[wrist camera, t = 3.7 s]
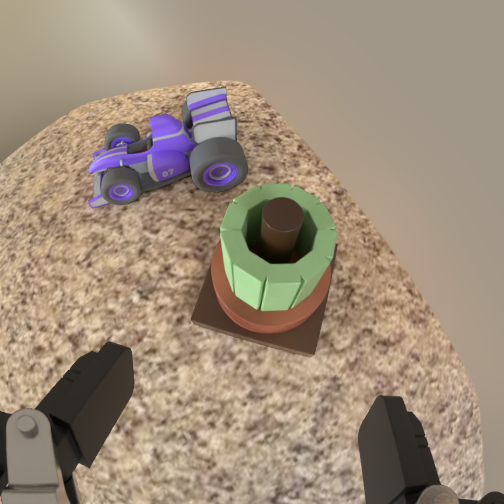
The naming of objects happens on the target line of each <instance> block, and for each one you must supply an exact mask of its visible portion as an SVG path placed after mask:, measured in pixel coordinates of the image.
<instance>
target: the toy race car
mask: <svg viewBox="0 0 504 504" xmlns="http://www.w3.org/2000/svg"><path fill="white" fill-rule="evenodd" d="M182 118H183V122H181V121H179V120H177V119H175V118H174V117H173V116H171V115H169V114H162V115H158V116H153V117H150V118H149V125H150V127H151V129H152V131H151V132H149V133H147V134H146V138H145V139H143V140H140V134H139V131H138V130H137V128H136V127H134V126H132V125H130V124H117V125H115V126H113V127H111V128H110V129H109V130H108V131H107V133H106V137H105V148H103V149H101V150H99V151H97V152H95V153H93V158H94V161H93V162H92V163H91V165H90V166H89V170H88V172H89V173H90V174H92V173H95V179H94V193H93V198H92V199H90V200H88V204H89V205H90V206H91V207H92V208H95V207H99V206H102V205H106V204H109V203H111V204H116V205H124V204H129V203H131V202H133V201H135V200H136V199H137V198H138V197H139V196H140V194H141V192H144V191H148V190H152V189H156V188H160V187H163V186H165V185H168V184H170V183H172V182H175V181H177V180H180V179H182V178H184V177H187V176H189V175H192V180H193V183H194V184H195V186H196V187H198V188H199V189H201V190H203V191H207V192H221V191H226V190H229V189H231V188H233V187H235V186H237V185H239V184H240V183H241V182H242V181H243V180H244V179H245V178H246V176H247V173H248V165H247V162H246V158H245V155H244V152H243V149H242V147H241V145H240V144H239V143H238V142H237V118H236V117H232V116H231V112H230V109H229V106H228V103H227V98H226V87H221V88H214V89H207V90H201V91H195V92H191V93H189V94H188V95H187V97H186V101H185V103H184V105H183V107H182ZM108 168H109V169H110V171H108V172H107V173H106V174H105V175H104V176H103V171H105V170H108ZM131 168H132V169H134V170H136V171H138V173H137V172H136V171H134V170H132V169H131Z"/></svg>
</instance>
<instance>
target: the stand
mask: <svg viewBox="0 0 504 504" xmlns="http://www.w3.org/2000/svg"><path fill="white" fill-rule="evenodd" d="M303 219H304V213H303V210H302V208H301V206H300V205H299V204H298V203H297V202H296V201H294V200H292V199H290V198H286V197H277V198H273V199H271V200H270V201H268V202H267V203H266V204H265V206H264V208H263V211H262V221H261V231H260V240H259V243H257V244H256V245H254V246H253V247H251V248H250V249H249V251H250V252H252V253H254V254H255V255H257V256H258V257H260V258H262V259H263V260H265V261H266V262H268V263H270V264H291V263H296V262H297V261H299V257H298V255H297V253H296V251H295V250H294V247H295V244H296V241H297V238H298V235H299V232H300V229H301V226H302V223H303ZM337 246H338V244H336V243H335V249H334V254H333V258H332V260H331V262H330V264H329V266H328V267H327V269H326V270H325V272H324V274H323V275H322V277H321V278H320V280H319V282H318V283H317V285H316V286H315V288H314V290H313V291H312V293H311V294H310V295H309V296H307V297H306V298H305V299H304V300H302V301H301V302H300V303H299V304H297V305H296V306H295V307H294V308H290V307H289V308H288V310H279V311H261V306H260V307H259V309H258V310H257V309H255V308H253V307H252V306H250V305H249V304H247V303H246V302H244V301H243V300H241V299H240V298H238V297H237V296H236V295H235V292H233V291H232V289H231V286H230V283H229V280H228V278H227V275H226V272H225V267H224V260H223V253H222V245H221V238H220V241H219V243H218V245H217V247H216V249H215V251H214V254H213V258H212V262H211V265H210V268H209V270H208V273H207V276H206V279H205V281H204V284H203V287H202V289H201V292H200V295H199V298H198V300H197V303H196V306H195V309H194V312H193V314H192V317H191V321H192V322H193V324H195V325H198V326H201V327H204V328H207V329H210V330H213V331H217V332H220V333H223V334H226V335H230V336H233V337H236V338H240V339H243V340H247V341H250V342H254V343H257V344H261V345H264V346H268V347H271V348H275V349H279V350H283V351H287V352H290V353H294V354H298V355H302V356H306V357H312V356H313V355H315V351H316V347H317V342H318V338H319V334H320V330H321V325H322V321H323V316H324V312H325V307H326V303H327V298H328V293H329V288H330V283H331V278H332V273H333V268H334V263H335V257H336V252H337Z"/></svg>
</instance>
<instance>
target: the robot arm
mask: <svg viewBox="0 0 504 504" xmlns="http://www.w3.org/2000/svg"><path fill="white" fill-rule="evenodd" d="M133 389H134V371H133V360H132V351H131V349H130V348H129V347H126V346H122V345H119V344H116V343H113V342H110V341H109V342H107V343H106V344H105V345H104V346H103V347H102V348H101V349H100V351H99V352H98V353H96V352H93V351H91V352H89V353H87V354H85V355H83V356H82V357H80V358H78V360H77V361H76V362H75V363H74V364H73V365H72V366H71V367H70V370H68V371H67V372H66V373H65V374H64V375H63V378H61V379H60V380H59V381H58V382H57V383H56V385H55V386H54V387H53V388H52V389H51V390H50V392H49V393H48V394H47V395H46V396H45V398H44V399H43V400H42V401H41V402H40V404H39V405H38V406H37V407H36V408H35V409H32V408H25V409H20V410H18V411H16V412H14V413H13V414H9V413H5V412H1V411H0V496H1V500H2V504H83V503H82V500H81V496H80V492H79V488H78V484H77V480H76V476H75V473H74V470H75V468H76V466H77V465H78V463H80V464H82V465H84V466H86V467H88V468H90V467H91V465H92V463H93V461H94V460H95V458H96V456H97V454H98V453H99V451H100V449H101V447H102V446H103V444H104V442H105V440H106V439H107V437H108V435H109V434H110V432H111V430H112V428H113V427H114V425H115V423H116V422H117V420H118V418H119V416H120V415H121V413H122V411H123V410H124V408H125V406H126V405H127V403H128V401H129V400H130V398H131V396H132V393H133ZM358 444H359V451H360V459H361V466H362V474H363V482H364V490H365V499H366V504H504V494H502V493H500V492H490V493H488V494H487V495H485V496H484V497H483V498H482V499H481V500H479V501H477V500H466V499H459V498H458V497H457V495H456V494H455V492H454V491H453V490H452V489H450V488H449V487H447V486H444V485H441V483H440V481H439V477H438V474H437V470H436V467H435V464H434V461H433V457H432V454H431V451H430V448H429V447H428V442H427V439H426V437H425V433H424V430H423V427H422V424H421V422H420V421H419V420H418V419H417V417H416V416H415V415H414V414H413V412H407V410H406V407H405V404H404V401H403V399H402V397H400V396H383V395H380V396H378V397H377V398H376V400H375V401H374V403H373V405H372V407H371V408H370V410H369V412H368V414H367V415H366V417H365V419H364V421H363V422H362V424H361V426H360V429H359V433H358ZM8 482H9V484H8ZM7 484H8V487H6V486H7Z"/></svg>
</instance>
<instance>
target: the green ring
mask: <svg viewBox="0 0 504 504" xmlns="http://www.w3.org/2000/svg"><path fill="white" fill-rule="evenodd" d="M277 197H286V198H290V199H292V200H294V201H296V202H297V203H298V204H299V205H300V206H301V208H302V210H303V213H304V219H303V223H302V226H301V229H300V232H299V235H298V238H297V241H296V244H295V247H294V250H295V251H296V253H297V255H298V257H299V261H297V262H296V263H291V264H270V263H268V262H266V261H265V260H263V259H262V258H260V257H258V256H257V255H255V254H254V253H252V252H250V251H249V249H250V248H251V247H253V246H254V245H256V244H257V243H259V240H260V231H261V221H262V211H263V208H264V206H265V204H266V203H267V202H268V201H270V200H271V199H273V198H277ZM319 202H320V199H319V198H317V197H315V196H313V195H312V194H310V193H308V192H306V191H305V190H303V189H301V188H299V187H297V186H294V187H293V188H292V189H291V184H261V189H260V188H259V187H258V186H255V187H253V188H251V189H250V190H248V191H246V192H245V193H243V194H241V195H240V196H238V197H236V198H235V199H234V200H233V203H230V204H229V206H228V209H227V211H226V214H225V216H224V219H223V221H222V224H221V226H220V232H221V233H220V238H221V245H222V253H223V260H224V267H225V272H226V275H227V278H228V280H229V283H230V286H231V289H232V291H233V292H235V295H236V296H237V297H238V298H240V299H241V300H243V301H244V302H246V303H247V304H249V305H250V306H252V307H253V308H255V309H257V310H258V309H259V307H260V306H261V311H279V310H288V308H289V307H290V308H294V307H295V306H296V305H297V304H299V303H300V302H301V301H302V300H304V299H305V298H306V297H307V296H309V295H310V294H311V293H312V291H313V290H314V288H315V286H316V285H317V283H318V282H319V280H320V278H321V277H322V275H323V274H324V272H325V270H326V269H327V267H328V266H329V264H330V262H331V260H332V258H333V254H334V249H335V243H336V238H337V231H335V229H336V225H335V223H334V221H333V219H332V217H331V216H330V214H329V212H328V210H327V208H326V206H325V205H324V203H320V204H319Z"/></svg>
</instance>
